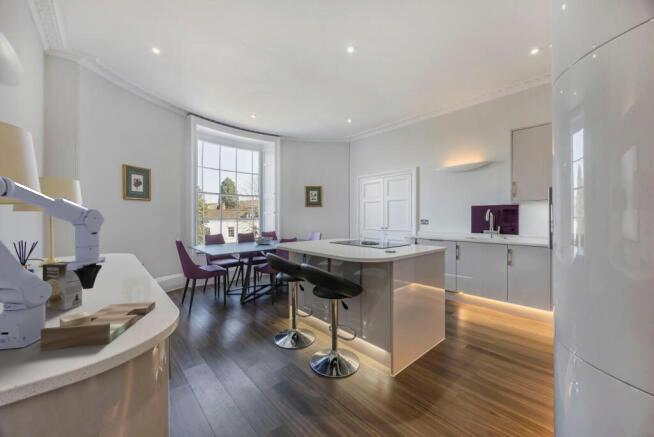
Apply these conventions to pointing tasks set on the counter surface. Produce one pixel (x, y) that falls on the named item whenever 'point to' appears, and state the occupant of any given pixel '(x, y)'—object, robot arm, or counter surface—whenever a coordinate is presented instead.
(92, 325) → the board
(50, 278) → the coffee box
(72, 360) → the counter surface
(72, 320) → the birch block
